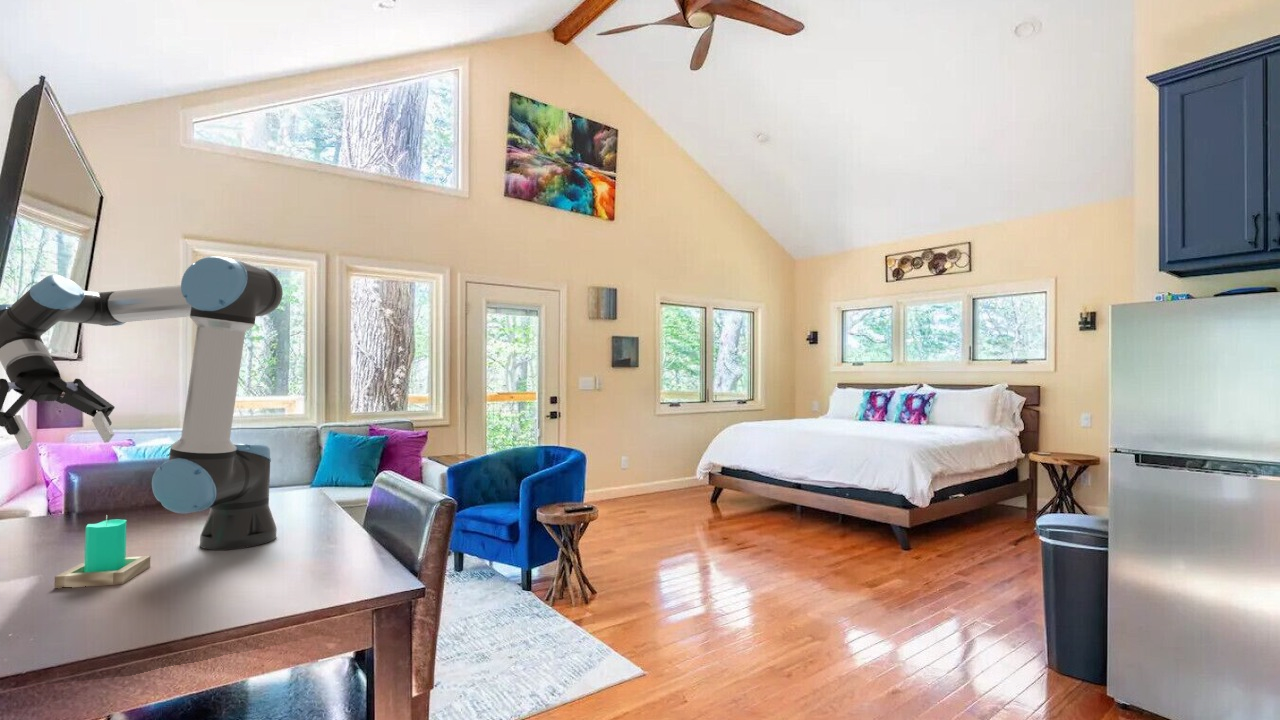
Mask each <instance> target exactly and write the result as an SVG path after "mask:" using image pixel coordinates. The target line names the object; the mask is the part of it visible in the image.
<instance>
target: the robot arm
mask: <svg viewBox="0 0 1280 720" xmlns="http://www.w3.org/2000/svg"><path fill="white" fill-rule="evenodd" d="M182 275H183V276H182V278H181V282H180V284H179V285H169V286H168V285H167V286H166V285H165V286H157V287H145V288H135V289H134V288H133V289H124V290H115V291H102V292H101V291H100V292H98V291H89V290H83V288H82V287H81V286H80V285H79V284H77V282H75V281H73V280H72V279H69V278H66V277H64V276H62V275H58V274H49V275H47V276H45V277H44V278H43V279H41V280H40V281H39V282H37V283H35V284H34V285H32V286H31V287H30V289H29V290H27V291H26V292H25V293H24V294H22V296H21V297H20V298H19V299H17V300H16V301H15V302H14V303H13V304H10V303H5V304H4V303H2V304H0V364H1V365H2V367H3V369H4V371H5V373H6V375H7V377H8V379H9V381H8V380H7V379H6V378H0V427H1V428H2V427H3V428H5V431H6V432H7V434H9V436H14V437H15V440H16V442H17V444H18V446H19V447H20V449H21V451H23V450H24V451H26V450H28V449H29V447H30V445H32V443H33V441H34V439H33V437H32V435H31V433H30V431H29V430H28V429H29V428H27V426H26V424H25V422H24V420H23V417H22V416H21V414H18V413H19V411H20V410H21V409H22V408H23V407H24V406H25V405H26V404H27V403H29V401H30V400H31V401H34V402H35V403H36V402H38V403H39V402H45V401H46V402H57V403H59V404H66V405H68V406H69V407H71V408H74V409H76V410H79V411H80V412H82V413H84V414H87V415H88V416H90V417H92V419H91V422H92V424H93V426H94V427H95V428H96V430H97V432H98V434H99V436H100V438H101V439H102V441H103V443H105V444H107V443H109V442H110V441H111V439H112V438H113V437H114V436H115V432H114V431H113V428H112V427H111V425H112V421H111V418H110V417H109V416H110V415H111V414H112V412H113V411H114V409H116V408H115V406H114V405H113V404H112V403H110V401H108V400H106V399H105V398H103V397H102V396H100V395H99V394H97V392H95V391H93V390H92V389H91V388H89V387H88V386H87V385H86V384H85V383H84V382H83V380H82V379H80V378H74V380H73V381H65V380H64V379H63V378H61V373H60V370H59V369H58V367H57V365H56V363H55V361H54V360H53V358H52V355H51V354H50V351H49V350H48V348H47V347H46V345H45V343H44V342H43V339H42V338H41V337H42V335H43V334H45V333H46V332H47V331H49V330H51V328H53V327H54V326H55V325H56V324H57V323H59V322H65V323H66V322H67V323H74V324H76V323H77V324H88V325H89V324H90V325H100V326H103V327H104V326H105V327H113V326H117V327H118V326H122V325H124V324H125V323H126V324H127V323H131V322H132V323H133V322H143V321H153V320H164V319H176V318H187V317H188V318H190V319H191V320H192V321H193V323H194V324H195V325H196V334H195V339H194V348H193V354H192V355H193V356H192V362H191V368H190V373H189V381H188V382H189V383H188V388H187V396H186V403H185V408H184V409H185V410H184V417H183V423H182V430H181V437H180V438H179V439H177V440H176V441H175V442H174V443H172V444H171V445H170V450H169V455H168V460H165V461H164V462H163V463H161V465H160V466H159V467H157V468H156V469H155V471H154V473H153V475H152V477H151V478H152V479H151V489H152V493H153V495H154V497H155V499H156V500H157V501H158V502H160V503H161V506H162V507H163V508H164V509H166V510H168V511H171V512H173V513H175V514H190V513H191V514H192V513H197V512H198V513H199V512H202V511H205V510H208V509H209V513H208V516H207V518H206V521H205V523H204V525H203V528H202V530H201V533H200V537H199V547H200V548H203V549H207V550H215V551H216V550H218V551H221V550H237V549H243V548H244V549H245V548H251V547H256V546H260V545H262V544H266V543H269V542H272V541H274V540H276V538H277V531H278V529H277V525H276V522H275V519H274V517H273V514H272V511H271V509H270V480H271V479H270V475H271V474H270V473H271V461H272V458H271V451H270V447H269V445H267V444H265V443H264V444H261V443H260V444H259V443H258V444H257V443H254V444H253V443H249V444H248V443H233V442H232V441H231V433H232V427H233V425H232V424H233V420H234V419H233V418H234V411H235V405H236V400H237V399H236V398H237V393H238V384H239V378H240V377H239V376H240V372H241V364H242V357H243V349H244V343H245V336H246V332H247V331H248V330H250V329H251V328H252V327H254V326H255V324H256V317H262V316H266V315H269V314H271V313H272V312H274V311H275V310H276V309H277V308H278V307H279V306H280V305H281V302H282V299H283V295H284V293H283V288H282V285H281V281H280V280H279V279H278V277H277V276H276V275H275V274H274V273H273V272H271V271H270V270H268V269H266V268H264V267H262V266H258V265H253V264H250V263H248V262H244V261H242V260H237V259H234V258H230V257H223V256H214V255H213V256H212V255H211V256H206V257H203V258H200V259H198V260H196V261H195V262H194V263H192V264H191V265H189V267H187V269H186V270H185V271H184V274H182ZM11 390H13V391H14V392H16V393H17V394H20V396H18V398H17V400H16V401H14V402H13V403H12V405H11V406H9V408H8V409H7V410H6V411H2V409H3V406H4V403H5V401H6V398H7V395H8V393H10V392H11ZM63 393H64V395H63V396H62V394H63ZM17 414H18V415H17Z"/></svg>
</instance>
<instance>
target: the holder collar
mask: <svg viewBox="0 0 1280 720" xmlns="http://www.w3.org/2000/svg"><path fill="white" fill-rule="evenodd" d="M151 557H152V556H151V555H146V556H145V555H144V556H143V555H142V556H126V557H125V566H124V567H123V568H121V569H119V570H117V571H101V572H85V573H84V566H85V561H83V562H81V563H79V564H77V565H75V566H73V567H71V568H69V569H67V570H65V571H63V572H61V573H59V574H57V575H55V576H54V583H53V584H54V586H53V587H54V588H58V589H63V588H62V587H72V588H83V587H85V586H86V587H97V586H98V587H100V586H101V587H102V586H113V585H114V586H115V585H123V584H125V583H127V582H128V581H129V580H132V579H133V578H135V577H136V576H138V575H139V574H141V573H144V571H146V570H147V569H149V568H150V567H151Z"/></svg>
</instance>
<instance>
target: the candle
mask: <svg viewBox="0 0 1280 720" xmlns="http://www.w3.org/2000/svg"><path fill="white" fill-rule="evenodd" d="M84 534H85V537H84V539H85V541H84V543H85V544H84V562H85V566H84V573H85V572H101V571H117V570H119V569H121V568H123V567H124V566H125V557H127V556H126V555H127V554H126V553H127V551H126V550H127V549H126V548H127V519H117V518H115V519H108V515H107V514H106V516H105V520H102V521H100V522H97V523H87V525H86V526H85V533H84Z"/></svg>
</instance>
